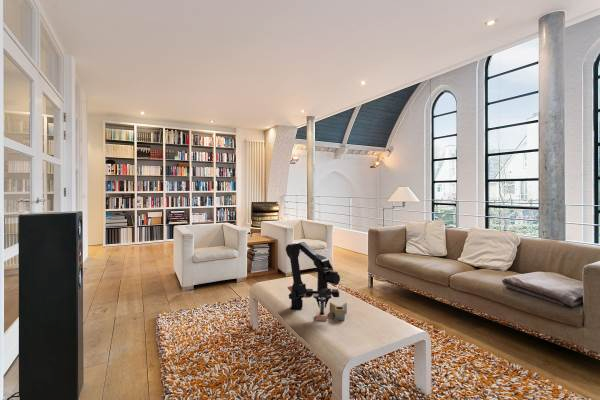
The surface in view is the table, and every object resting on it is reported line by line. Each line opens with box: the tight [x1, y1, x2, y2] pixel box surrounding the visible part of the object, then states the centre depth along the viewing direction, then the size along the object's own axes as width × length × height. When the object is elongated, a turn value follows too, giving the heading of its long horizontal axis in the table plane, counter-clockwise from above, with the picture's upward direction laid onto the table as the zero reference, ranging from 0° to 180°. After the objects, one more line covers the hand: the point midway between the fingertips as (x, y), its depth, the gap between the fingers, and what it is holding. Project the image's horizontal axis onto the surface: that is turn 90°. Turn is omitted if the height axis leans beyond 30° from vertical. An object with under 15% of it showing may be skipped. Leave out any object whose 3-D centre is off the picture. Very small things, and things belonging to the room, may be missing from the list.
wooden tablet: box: [287, 285, 310, 299], centre depth 218 cm, size 27×10×2 cm, turn 21°
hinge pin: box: [319, 298, 325, 315], centre depth 173 cm, size 4×4×8 cm
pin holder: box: [315, 311, 328, 321], centre depth 173 cm, size 6×6×2 cm
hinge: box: [329, 302, 348, 322], centre depth 176 cm, size 10×11×6 cm
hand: (322, 307), depth 173 cm, fingers closed on hinge pin, 3 cm apart
